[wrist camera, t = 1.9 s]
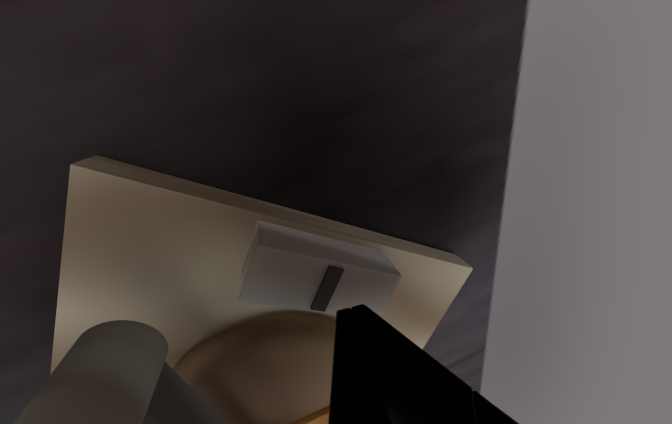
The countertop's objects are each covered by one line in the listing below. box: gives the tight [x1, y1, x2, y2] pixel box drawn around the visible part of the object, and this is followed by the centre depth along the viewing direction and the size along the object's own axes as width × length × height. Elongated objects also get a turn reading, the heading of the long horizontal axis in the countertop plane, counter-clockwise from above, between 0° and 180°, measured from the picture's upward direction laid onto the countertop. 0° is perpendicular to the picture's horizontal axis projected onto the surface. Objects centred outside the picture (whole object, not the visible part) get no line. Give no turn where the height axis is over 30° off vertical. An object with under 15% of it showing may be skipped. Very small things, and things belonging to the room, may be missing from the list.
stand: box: [50, 155, 473, 375], centre depth 14 cm, size 18×18×4 cm
